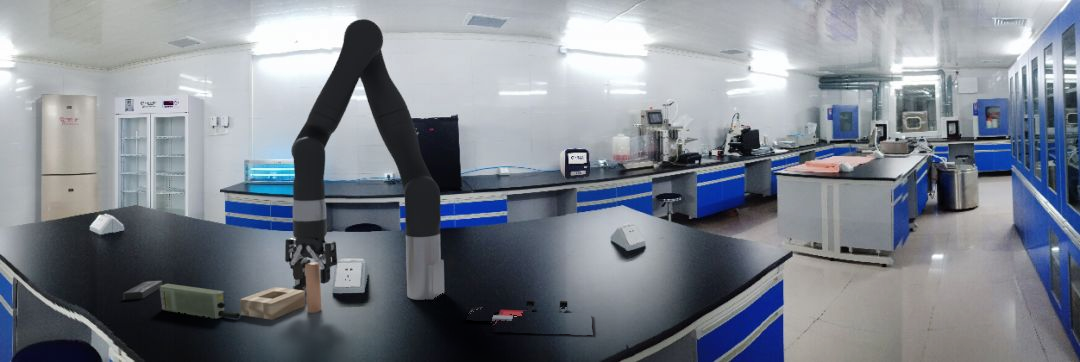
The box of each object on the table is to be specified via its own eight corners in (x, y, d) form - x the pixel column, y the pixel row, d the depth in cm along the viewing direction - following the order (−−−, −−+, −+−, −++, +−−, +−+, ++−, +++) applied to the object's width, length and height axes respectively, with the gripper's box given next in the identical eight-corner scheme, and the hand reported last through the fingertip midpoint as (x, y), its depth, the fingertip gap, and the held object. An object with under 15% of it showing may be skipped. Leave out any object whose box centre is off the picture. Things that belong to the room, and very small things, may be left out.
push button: (300, 298, 126) (298, 262, 125) (283, 297, 127) (281, 261, 126) (316, 290, 132) (314, 256, 132) (299, 289, 133) (297, 255, 132)
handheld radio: (173, 307, 120) (244, 318, 112) (159, 311, 117) (232, 323, 109) (170, 282, 120) (242, 292, 112) (156, 286, 116) (229, 296, 109)
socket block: (305, 305, 120) (304, 290, 120) (272, 319, 111) (271, 303, 110) (275, 301, 123) (275, 286, 123) (241, 314, 114) (240, 299, 114)
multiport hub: (122, 301, 125) (122, 293, 124) (145, 289, 135) (144, 281, 135) (142, 300, 126) (141, 291, 126) (163, 287, 136) (162, 280, 136)
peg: (324, 309, 118) (322, 263, 117) (314, 313, 115) (312, 266, 114) (314, 307, 119) (312, 262, 118) (304, 312, 116) (302, 265, 115)
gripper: (343, 217, 116) (345, 280, 117) (299, 213, 121) (301, 274, 122) (320, 221, 109) (322, 288, 110) (275, 217, 114) (277, 281, 115)
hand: (311, 280), depth 116 cm, fingers open, 8 cm apart
